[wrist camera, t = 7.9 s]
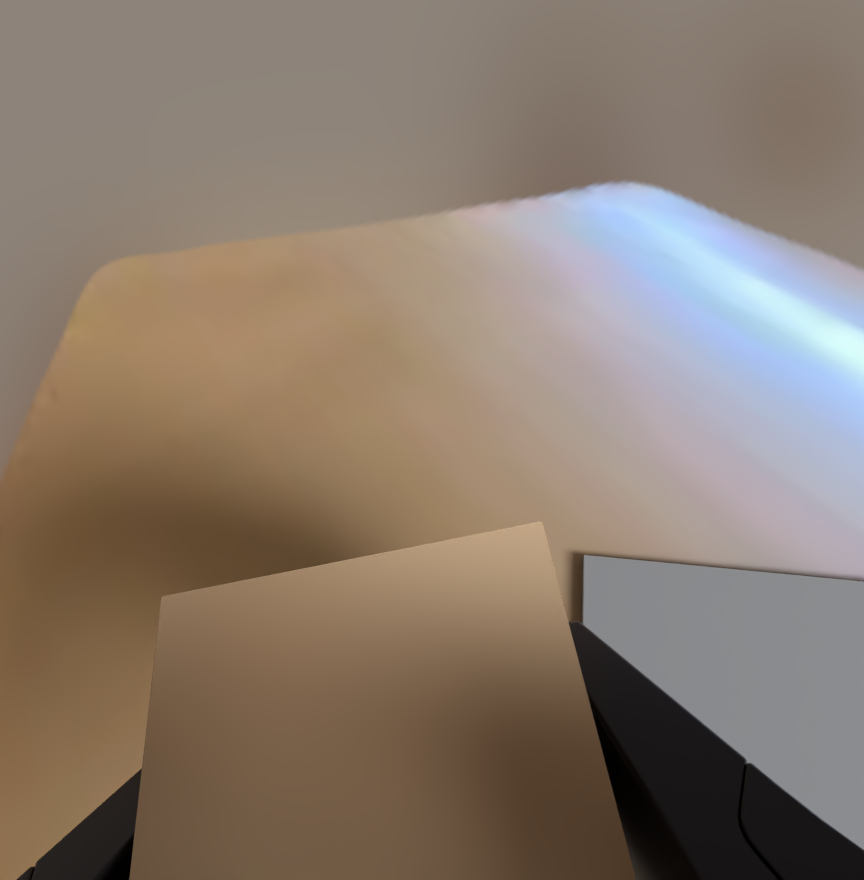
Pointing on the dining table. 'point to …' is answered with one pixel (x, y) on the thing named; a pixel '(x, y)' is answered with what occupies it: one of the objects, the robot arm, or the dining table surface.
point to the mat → (750, 666)
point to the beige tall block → (377, 725)
